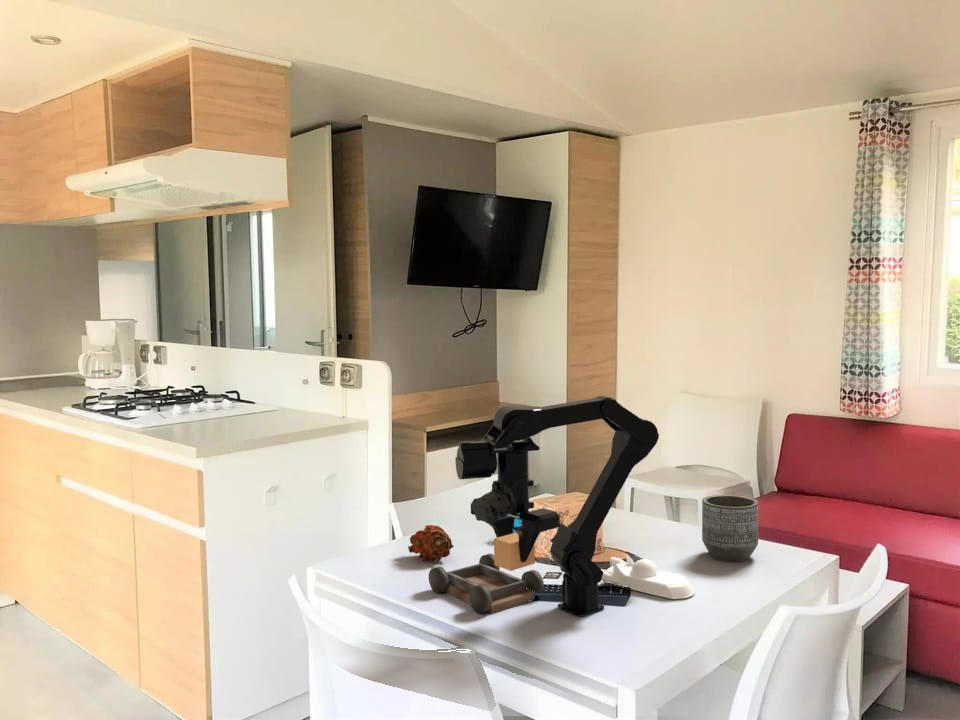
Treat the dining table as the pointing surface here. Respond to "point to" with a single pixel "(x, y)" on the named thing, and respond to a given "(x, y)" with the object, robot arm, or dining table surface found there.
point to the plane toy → (647, 578)
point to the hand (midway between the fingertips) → (514, 558)
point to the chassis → (486, 585)
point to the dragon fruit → (431, 543)
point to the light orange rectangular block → (510, 553)
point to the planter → (730, 526)
